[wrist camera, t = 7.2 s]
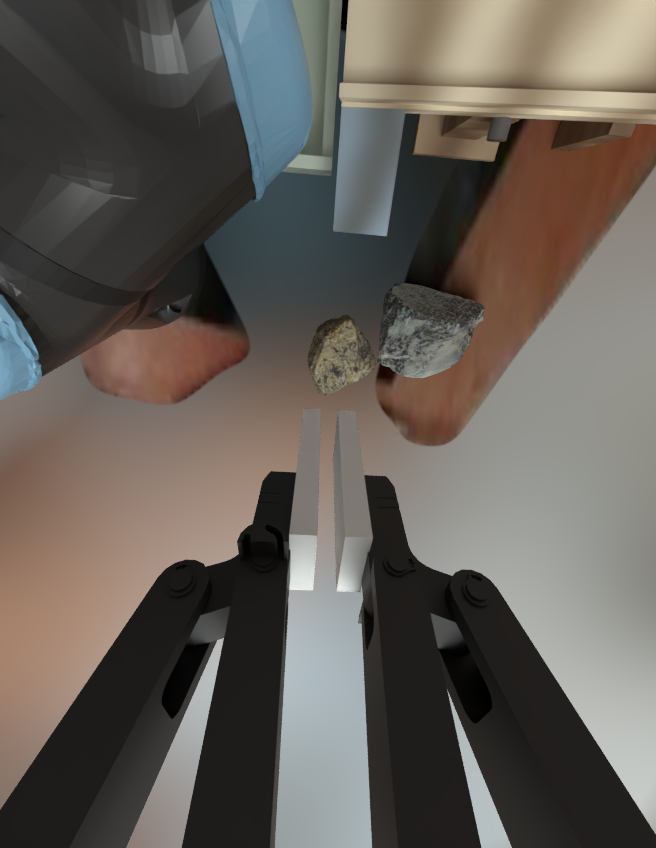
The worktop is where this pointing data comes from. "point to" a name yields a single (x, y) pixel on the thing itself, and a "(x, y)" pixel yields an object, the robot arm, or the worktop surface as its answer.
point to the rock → (339, 355)
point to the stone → (425, 329)
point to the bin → (319, 81)
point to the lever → (481, 78)
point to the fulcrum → (469, 142)
